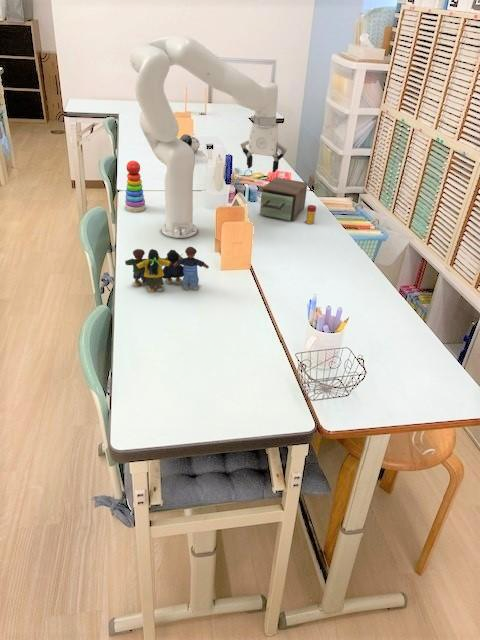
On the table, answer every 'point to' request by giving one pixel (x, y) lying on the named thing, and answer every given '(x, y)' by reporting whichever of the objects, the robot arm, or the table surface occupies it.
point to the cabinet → (289, 192)
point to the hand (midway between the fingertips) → (262, 169)
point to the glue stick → (310, 214)
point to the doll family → (165, 268)
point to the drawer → (276, 205)
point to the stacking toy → (134, 188)
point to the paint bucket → (191, 141)
